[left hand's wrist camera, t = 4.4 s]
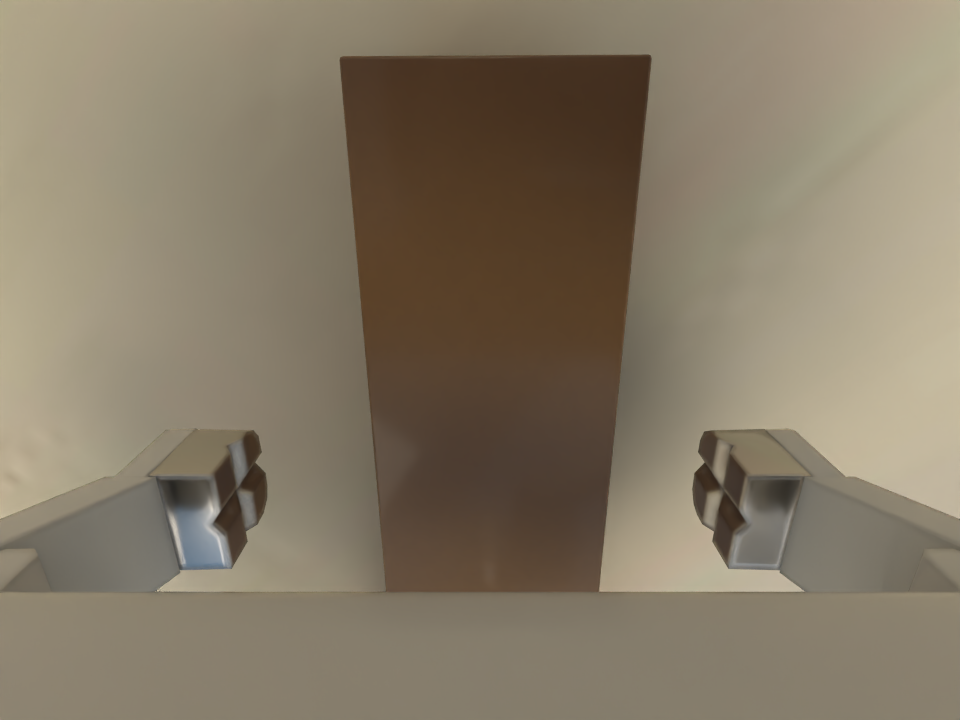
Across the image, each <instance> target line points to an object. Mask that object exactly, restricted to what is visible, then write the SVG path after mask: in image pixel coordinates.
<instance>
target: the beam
mask: <svg viewBox="0 0 960 720" xmlns="http://www.w3.org/2000/svg"><path fill="white" fill-rule="evenodd" d="M651 60H652V58H651V56H650V55H490V56H342V57H340V70H341V82H342V93H343V105H344V116H345V127H346V139H347V150H348V161H349V173H350V184H351V196H352V207H353V218H354V230H355V241H356V252H357V264H358V275H359V287H360V298H361V309H362V321H363V332H364V343H365V355H366V366H367V378H368V389H369V400H370V412H371V423H372V434H373V446H374V457H375V469H376V480H377V491H378V503H379V514H380V525H381V537H382V548H383V560H384V571H385V582H386V592H599V584H600V574H601V564H602V554H603V544H604V534H605V524H606V514H607V504H608V493H609V483H610V473H611V463H612V453H613V443H614V433H615V423H616V413H617V403H618V393H619V383H620V372H621V362H622V352H623V342H624V332H625V322H626V312H627V302H628V292H629V282H630V272H631V261H632V251H633V241H634V231H635V221H636V211H637V201H638V191H639V181H640V171H641V161H642V151H643V140H644V130H645V120H646V110H647V100H648V90H649V80H650V70H651Z"/></svg>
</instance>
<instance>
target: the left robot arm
mask: <svg viewBox="0 0 960 720" xmlns="http://www.w3.org/2000/svg"><path fill="white" fill-rule="evenodd" d="M261 453H262V450H261V446H260V441H259V436H258V435H257V434H256V433H255V432H254V430H211V429H200V430H198V429H172V430H165V431H164V432H163V433H162V434H161V435H160V436H159V437H158V438H157V439H155V440H154V441H153V442H152V443H151V444H150V445H149V446H148V447H147V448H146V449H144V450H143V451H142V452H141V453H140V454H139V455H138V456H137V457H136V458H135V459H133V460H132V461H131V462H130V463H129V464H128V465H127V466H126V467H125V468H124V469H122V470H121V471H120V472H119V473H118V474H117V475H116V476H115V477H103V478H101V479H99V480H96V481H94V482H91V483H89V484H86V485H84V486H81V487H79V488H76V489H74V490H71V491H69V492H66V493H64V494H61V495H59V496H56V497H54V498H51V499H49V500H46V501H44V502H41V503H39V504H37V505H34V506H32V507H29V508H27V509H24V510H22V511H19V512H17V513H14V514H12V515H9V516H7V517H4V518H2V519H0V720H960V519H958V518H955V517H953V516H951V515H948V514H946V513H943V512H941V511H938V510H936V509H933V508H931V507H928V506H926V505H923V504H921V503H918V502H916V501H913V500H911V499H908V498H906V497H904V496H901V495H899V494H896V493H894V492H891V491H889V490H886V489H884V488H881V487H879V486H876V485H874V484H871V483H869V482H866V481H864V480H861V479H859V478H857V477H845V476H844V475H843V474H842V473H841V472H840V471H839V470H838V469H837V468H835V467H834V466H833V465H832V464H831V463H830V462H829V461H828V460H827V459H826V458H824V457H823V456H822V455H821V454H820V453H819V452H818V451H817V450H816V449H815V448H813V447H812V446H811V445H810V444H809V443H808V442H807V441H806V440H805V439H804V438H802V437H801V436H800V435H799V434H798V433H797V432H796V431H794V430H791V429H766V430H765V429H752V430H711V431H705V432H704V433H703V435H702V438H701V440H700V445H699V450H698V453H699V454H700V456H701V457H702V459H703V460H704V462H705V463H704V464H703V465H702V466H701V467H700V468H699V469H698V470H697V471H696V472H695V473H694V481H693V488H692V490H693V501H694V506H695V509H696V513H697V515H698V517H699V519H700V521H701V523H702V524H703V525H705V526H706V527H708V528H709V529H711V530H713V531H714V535H713V541H712V542H713V543H714V545H715V547H716V548H717V550H718V552H719V553H720V555H721V557H722V559H723V560H724V562H725V564H726V565H727V567H728V569H757V570H780V573H781V574H783V575H784V576H785V577H787V578H788V579H789V580H791V581H792V582H793V583H795V584H796V585H797V586H799V587H800V588H801V589H803V590H804V591H805V592H155V591H156V590H157V589H159V588H160V587H162V586H163V585H164V584H166V583H167V582H168V581H170V580H171V579H172V578H174V577H175V576H176V575H178V574H179V573H180V570H202V569H232V567H233V565H234V564H235V562H236V560H237V559H238V557H239V555H240V554H241V552H242V550H243V548H244V547H245V545H246V543H247V542H248V541H247V535H246V531H247V530H249V529H251V528H252V527H254V526H255V525H257V524H258V522H259V521H260V519H261V517H262V515H263V513H264V509H265V505H266V501H267V480H266V473H265V472H264V471H263V470H262V469H261V468H260V467H259V466H258V465H257V464H256V463H255V462H256V460H257V459H258V457H259V456H260V454H261Z"/></svg>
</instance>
